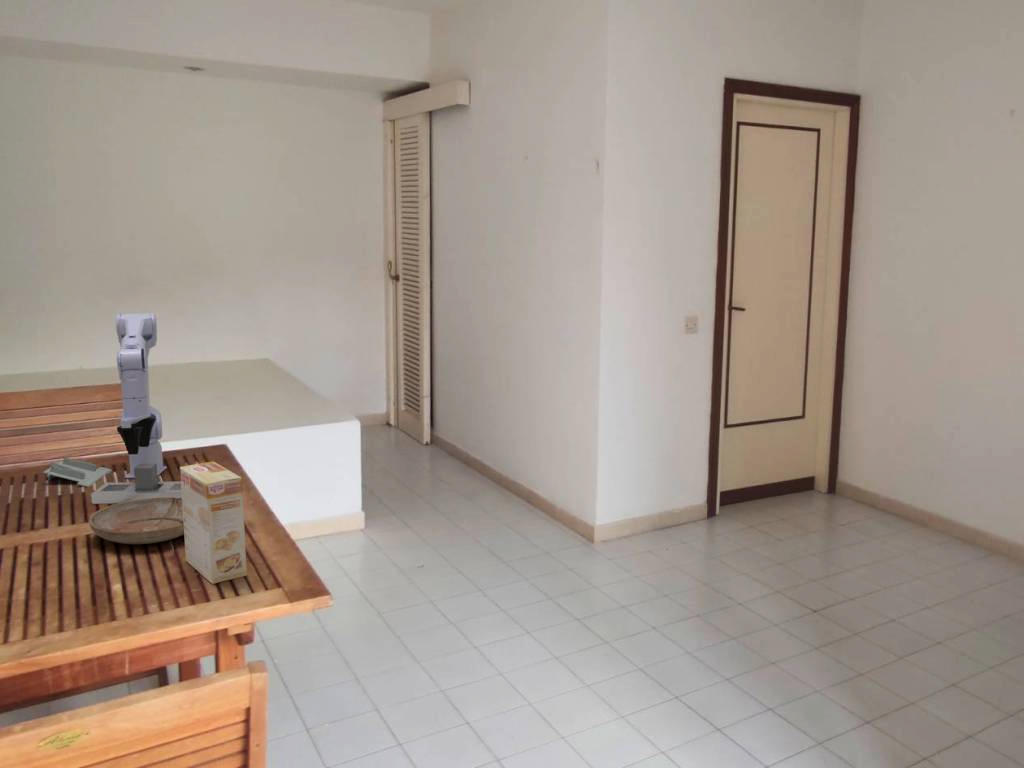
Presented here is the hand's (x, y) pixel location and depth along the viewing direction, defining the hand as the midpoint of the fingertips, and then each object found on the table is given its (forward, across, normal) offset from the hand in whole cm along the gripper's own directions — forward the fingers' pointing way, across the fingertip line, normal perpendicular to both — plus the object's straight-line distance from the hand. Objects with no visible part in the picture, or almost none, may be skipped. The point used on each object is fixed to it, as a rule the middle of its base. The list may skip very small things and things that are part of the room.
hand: (138, 450), depth 210 cm
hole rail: (+10, +6, +4) cm, 12 cm away
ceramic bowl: (+11, +32, +13) cm, 36 cm away
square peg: (+10, +6, +3) cm, 12 cm away
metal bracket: (+11, -12, -21) cm, 26 cm away
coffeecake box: (+12, +52, +32) cm, 62 cm away
